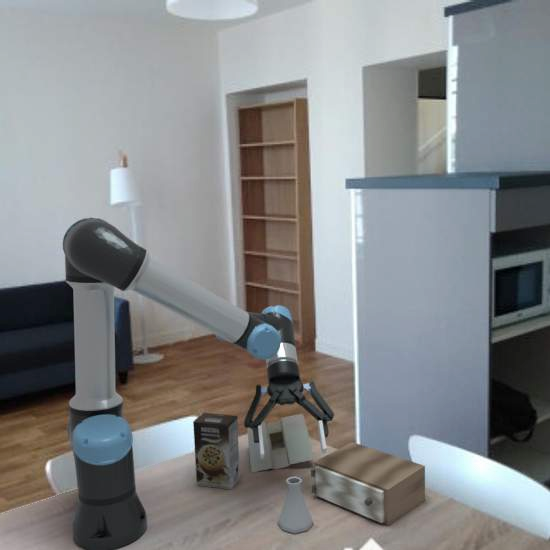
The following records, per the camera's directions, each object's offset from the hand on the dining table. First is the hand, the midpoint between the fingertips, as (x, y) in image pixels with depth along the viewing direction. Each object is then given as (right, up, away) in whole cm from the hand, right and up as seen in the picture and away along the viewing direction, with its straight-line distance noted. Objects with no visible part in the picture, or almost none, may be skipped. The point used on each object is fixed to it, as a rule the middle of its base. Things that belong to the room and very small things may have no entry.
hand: (293, 453), depth 142 cm
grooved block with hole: (-3, -9, +26) cm, 27 cm away
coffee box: (-18, -11, +15) cm, 25 cm away
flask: (0, -14, -6) cm, 15 cm away
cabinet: (+17, -11, +4) cm, 21 cm away
